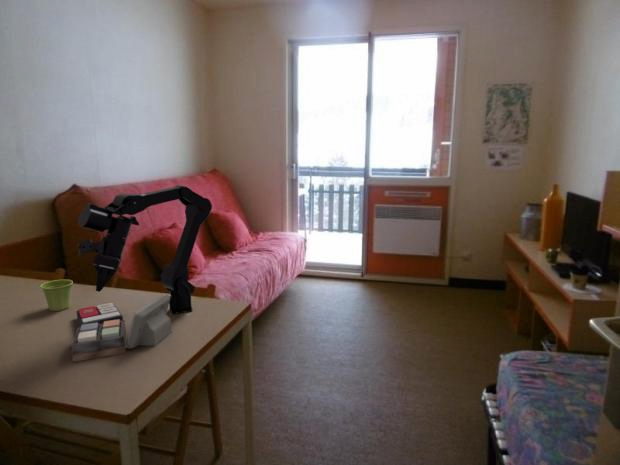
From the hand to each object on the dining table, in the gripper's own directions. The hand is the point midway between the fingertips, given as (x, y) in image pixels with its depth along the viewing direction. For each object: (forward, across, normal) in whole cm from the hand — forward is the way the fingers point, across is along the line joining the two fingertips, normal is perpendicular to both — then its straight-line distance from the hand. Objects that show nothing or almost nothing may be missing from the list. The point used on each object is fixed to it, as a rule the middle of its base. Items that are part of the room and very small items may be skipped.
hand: (99, 289), depth 113 cm
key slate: (+12, +1, +1) cm, 12 cm away
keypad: (+14, +3, +5) cm, 15 cm away
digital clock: (+10, +4, +17) cm, 20 cm away
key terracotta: (+10, +1, +6) cm, 12 cm away
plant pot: (+13, -33, -11) cm, 37 cm away
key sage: (+11, +7, +7) cm, 15 cm away
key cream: (+13, +7, +2) cm, 15 cm away
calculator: (+12, -14, +3) cm, 19 cm away
